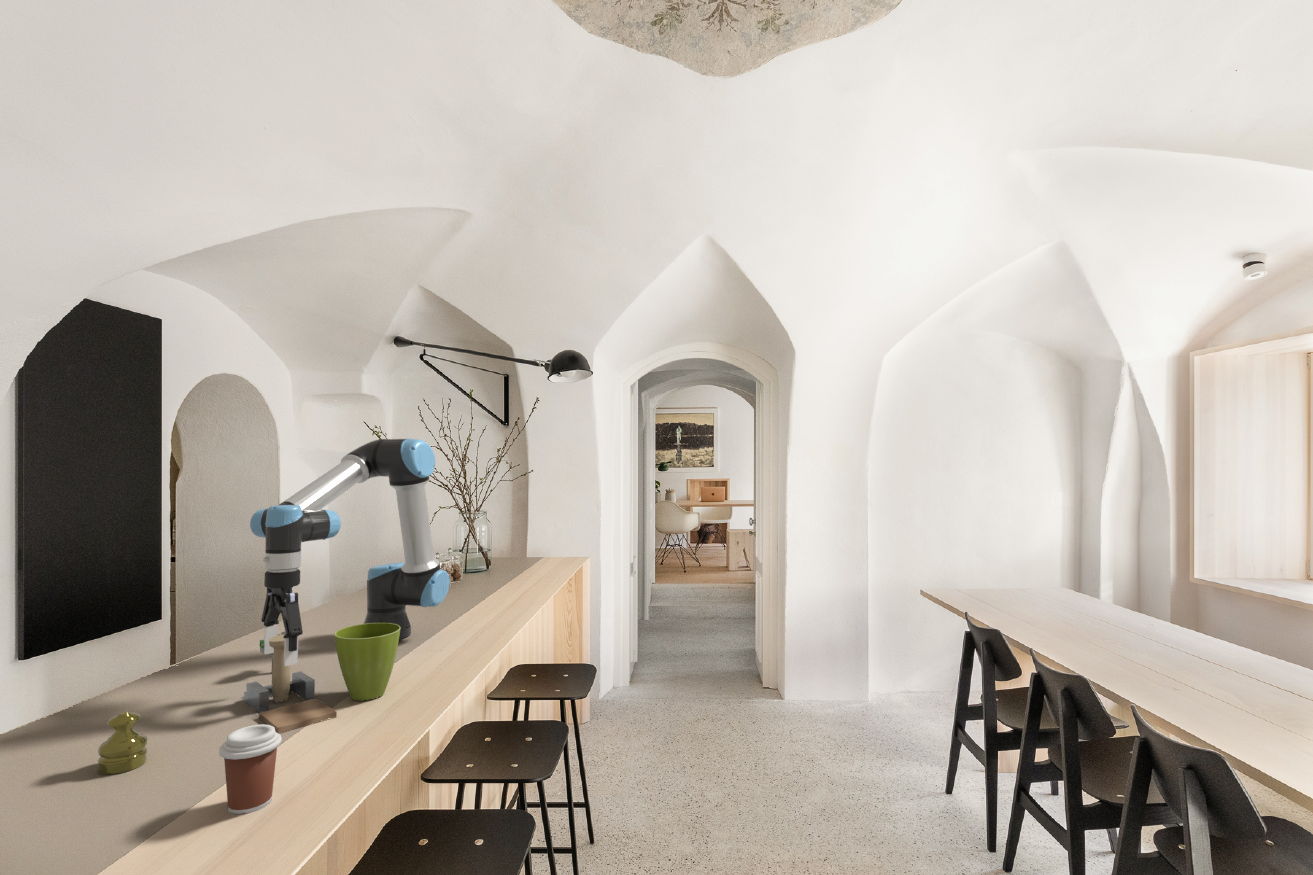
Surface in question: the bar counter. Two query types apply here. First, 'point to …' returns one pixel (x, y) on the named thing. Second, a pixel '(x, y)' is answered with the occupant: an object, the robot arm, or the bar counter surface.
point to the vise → (260, 694)
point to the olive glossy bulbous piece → (122, 746)
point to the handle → (279, 670)
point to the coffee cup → (250, 767)
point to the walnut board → (297, 715)
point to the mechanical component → (263, 647)
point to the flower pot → (367, 657)
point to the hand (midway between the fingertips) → (280, 658)
